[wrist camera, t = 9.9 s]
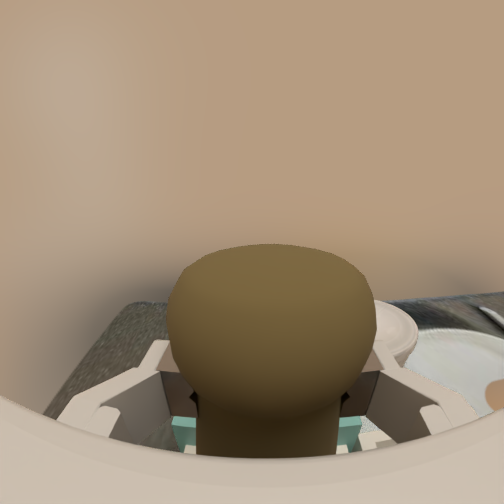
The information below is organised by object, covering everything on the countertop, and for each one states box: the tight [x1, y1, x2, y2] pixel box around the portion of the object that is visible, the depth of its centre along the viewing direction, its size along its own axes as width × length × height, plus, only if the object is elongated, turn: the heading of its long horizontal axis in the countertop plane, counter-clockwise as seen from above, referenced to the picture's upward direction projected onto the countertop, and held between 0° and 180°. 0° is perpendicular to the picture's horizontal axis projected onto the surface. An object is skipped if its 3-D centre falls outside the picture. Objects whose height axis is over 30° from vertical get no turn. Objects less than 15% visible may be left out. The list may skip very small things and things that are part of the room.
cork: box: [166, 244, 377, 458], centre depth 8 cm, size 6×6×11 cm
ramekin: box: [374, 300, 418, 368], centre depth 25 cm, size 11×11×5 cm
